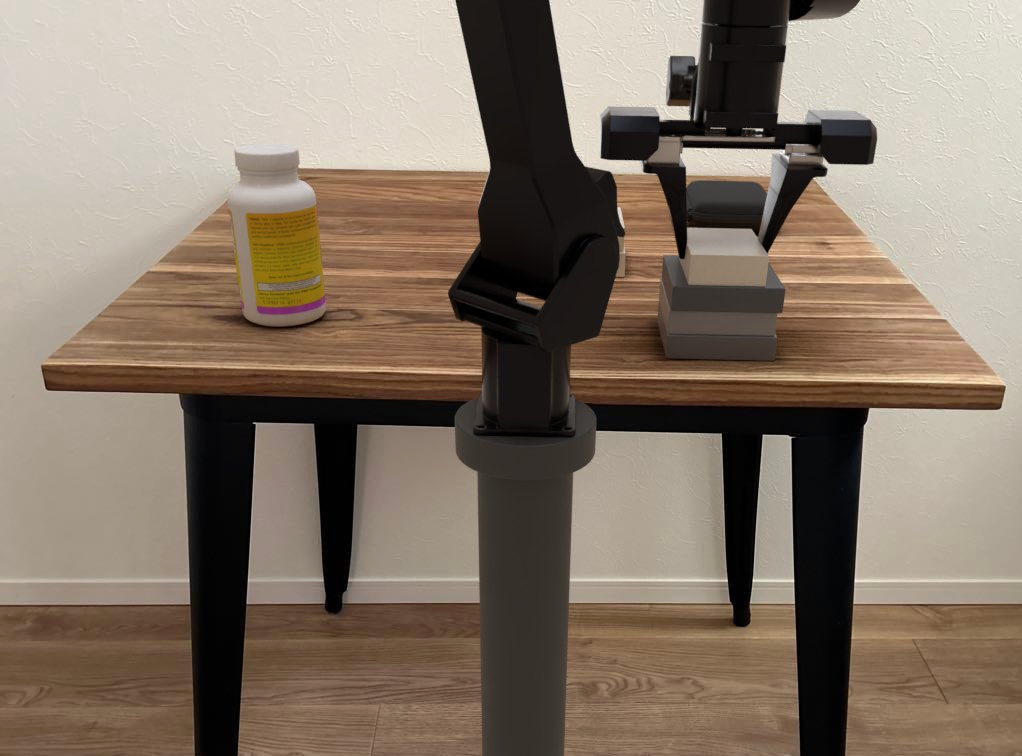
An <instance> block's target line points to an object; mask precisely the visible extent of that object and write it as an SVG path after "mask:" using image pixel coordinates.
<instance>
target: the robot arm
mask: <svg viewBox="0 0 1022 756" xmlns="http://www.w3.org/2000/svg"><path fill="white" fill-rule="evenodd" d="M454 1H455V6H456V10H457V15H458V19H459V24H460V29H461V33H462V37H463V43H464V47H465V51H466V57H467V61H468V65H469V71H470V75H471V80H472V84H473V89H474V94H475V98H476V103H477V107H478V112H479V117H480V121H481V126H482V131H483V136H484V141H485V144H486V150H487V154H488V159H489V170H488V174H487V178H486V180H485V183H484V187H483V189H482V193H481V196H480V199H479V202H478V205H477V219H478V230H479V232H478V233H479V243H478V244H477V245H476V247H475V249H474V250H473V251H472V253H471V255H470V257H469V258H468V260H466V263H465V264H464V266H463V267H462V269H461V270H460V272H459V273H458V275H457V276H456V278H455V280H454V281H453V283H451V286H450V287H449V289H448V291H447V296H448V299H449V302H450V305H451V308H452V311H453V314H454V317H455V319H456V320H457V321H460V322H467V323H470V324H473V325H475V326H478V327H480V335H481V337H480V339H481V344H480V345H481V392H480V393H479V394H478V397H479V398H478V397H477V398H478V404H477V409H476V414H475V420H474V425H473V433H474V434H475V435H477V436H511V437H559V438H571V437H574V436H575V432H576V424H575V399H576V396H575V394H574V393H571V363H572V362H571V361H572V346H573V345H576V344H579V343H582V342H585V341H588V340H591V339H594V338H597V337H599V335H600V334H601V331H602V328H603V327H602V326H603V323H604V319H605V317H606V316H605V315H606V312H607V309H608V306H609V303H610V298H611V295H612V291H613V287H614V284H615V280H616V278H617V277H616V274H617V270H618V268H619V261H620V248H619V241H618V237H624V238H625V236H626V230H625V231H624V229H623V227H622V225H621V223H620V219H619V215H618V208H617V207H618V186H617V182H616V180H615V178H614V175H613V173H612V172H611V171H610V170H605V169H601V168H595V167H590V166H585V164H584V163H583V162H582V160H581V159H580V156H578V154H577V152H576V150H575V146H574V142H573V138H572V130H571V124H570V119H569V118H570V117H569V112H568V106H567V100H566V95H565V88H564V83H563V76H562V75H563V74H562V70H561V64H560V57H559V51H558V46H557V45H558V43H557V38H556V32H555V26H554V20H553V14H552V7H551V1H550V0H454ZM860 2H861V0H703V2H702V15H701V24H700V25H701V27H700V39H699V48H698V49H699V50H698V62H697V64H696V57H695V56H693V55H670V56H669V58H668V62H667V74H666V89H665V105H667V107H688V116H689V119H661V118H660V117H661V116H660V115H659V112H658V110H657V109H656V107H654V106H610V105H609V106H607V107H606V108H605V109H604V110H603V111H602V112H601V114H600V115H599V126H598V151H599V152H598V153H599V158H600V159H602V160H606V161H632V162H633V161H635V162H636V161H637V162H639V164H640V167H641V170H642V173H644V174H648V175H657V178H658V181H659V183H660V186H661V189H662V192H663V195H664V198H665V201H666V202H665V203H666V206H667V209H668V214H669V218H670V219H669V220H670V223H671V228H672V232H673V237H674V241H675V245H676V250H677V255H679V258H680V259H685V252H686V244H687V228H688V221H687V195H686V194H687V192H686V188H687V167H686V164H685V163H684V161H683V159H682V156H681V154H683V152H684V151H683V150H684V149H718V150H721V149H722V150H726V149H727V150H773V151H774V150H775V151H776V150H777V151H779V153H772V154H771V165H770V178H769V184H768V189H767V192H766V193H767V198H766V203H765V207H764V212H763V217H762V222H761V226H760V231H759V232H758V237H757V238H758V240H759V242H760V243H761V245H762V246H763V248H764V249H765V251H766V252H767V254H768V255H769V252H770V250H771V248H772V246H773V244H774V243H775V240H776V239H777V236H779V233H780V231H781V229H782V228H783V226H784V224H785V221H786V219H787V218H788V216H789V214H790V213H791V211H792V209H793V208H794V206H796V203H797V202H798V201H799V199H800V198H801V196H802V195H803V193H804V192H805V190H806V189H807V188H808V186H809V185H810V183H811V182H812V180H813V179H814V178H824V177H827V175H828V170H829V169H828V167H827V166H825V164H823V163H824V160H825V161H826V163H828V165H851V166H852V165H853V166H854V165H855V166H857V165H858V166H869V165H873V164H874V162H875V161H874V160H875V156H876V155H875V154H876V148H877V145H878V144H877V143H878V128H877V126H876V125H875V124H874V122H873V121H872V120H871V119H870V118H868V117H866V116H864V114H861V113H859V112H858V111H857V110H832V109H831V110H828V109H827V110H826V109H825V110H824V109H808V110H807V112H806V115H805V117H804V120H803V121H778V119H779V107H780V98H781V89H782V81H783V73H784V72H783V71H784V65H785V61H786V51H787V39H788V31H789V22H800V21H801V22H802V21H816V20H817V21H819V20H831V19H836V18H837V19H838V18H841V17H843V16H845V15H847V14H849V13H850V12H851V11H853V10H854V8H855V7H857V6H858V4H859V3H860ZM518 294H521V295H524V296H528V297H531V298H534V299H537V300H539V301H543V302H544V303H543V304H542V306H539V305H537V304H534V303H530V302H527V301H524V300H521V299H518V298H517V297H518Z"/></svg>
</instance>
